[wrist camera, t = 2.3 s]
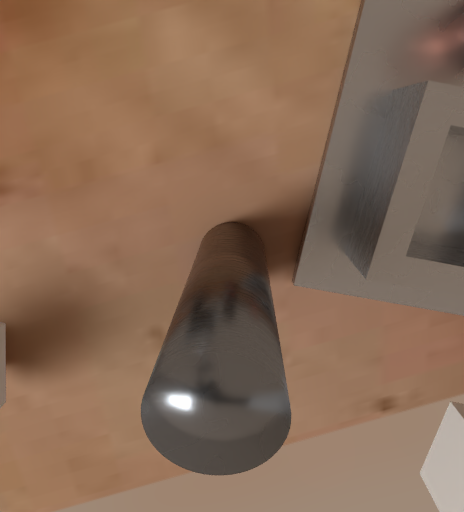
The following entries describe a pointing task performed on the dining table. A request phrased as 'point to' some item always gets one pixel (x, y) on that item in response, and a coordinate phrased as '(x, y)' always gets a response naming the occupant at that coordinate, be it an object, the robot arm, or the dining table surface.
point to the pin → (221, 363)
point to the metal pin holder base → (394, 163)
